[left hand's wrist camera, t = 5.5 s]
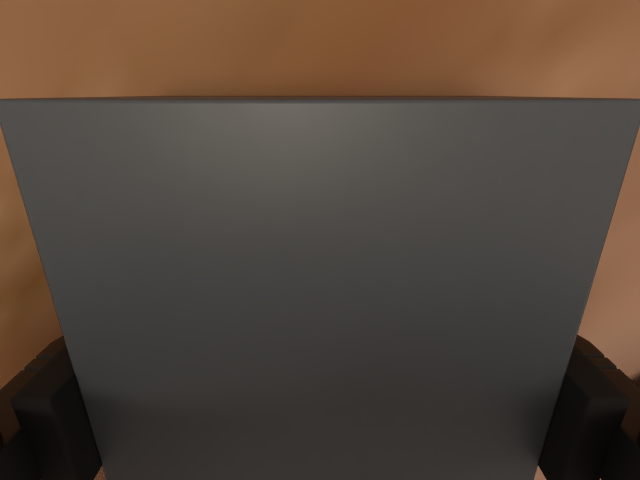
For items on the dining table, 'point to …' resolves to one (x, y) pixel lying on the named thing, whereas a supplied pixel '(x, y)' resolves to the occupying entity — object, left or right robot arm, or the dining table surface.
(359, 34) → the dining table surface
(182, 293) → the slab
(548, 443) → the left robot arm
